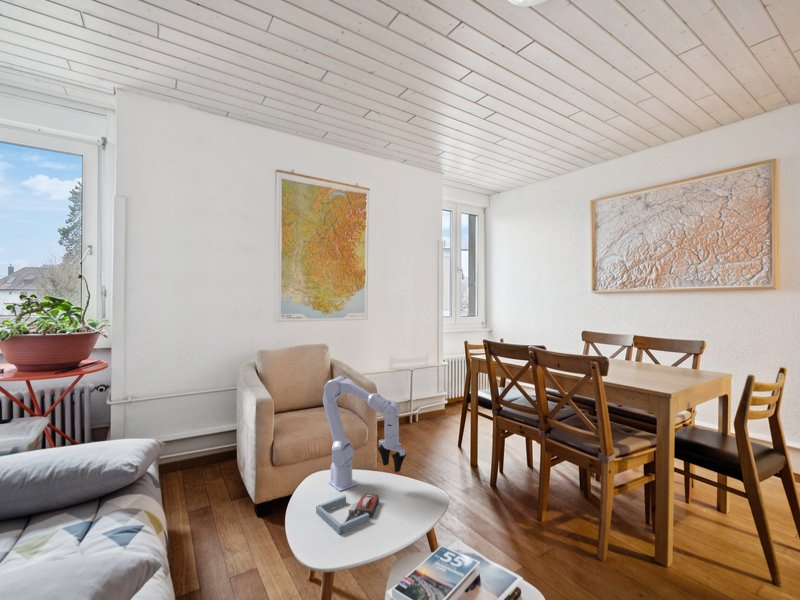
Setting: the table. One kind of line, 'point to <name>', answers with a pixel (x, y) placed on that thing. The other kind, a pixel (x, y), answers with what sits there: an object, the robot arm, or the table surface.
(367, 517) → the grey pronged cradle
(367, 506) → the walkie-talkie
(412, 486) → the table surface
